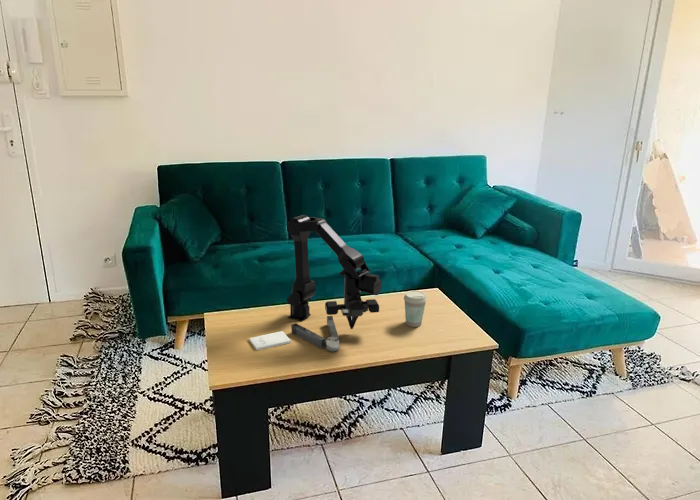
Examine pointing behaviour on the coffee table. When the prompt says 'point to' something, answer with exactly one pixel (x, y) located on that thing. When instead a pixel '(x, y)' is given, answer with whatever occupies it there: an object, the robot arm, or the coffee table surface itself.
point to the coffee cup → (414, 307)
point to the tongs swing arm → (332, 336)
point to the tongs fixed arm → (308, 335)
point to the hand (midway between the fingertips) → (351, 328)
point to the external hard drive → (269, 340)
